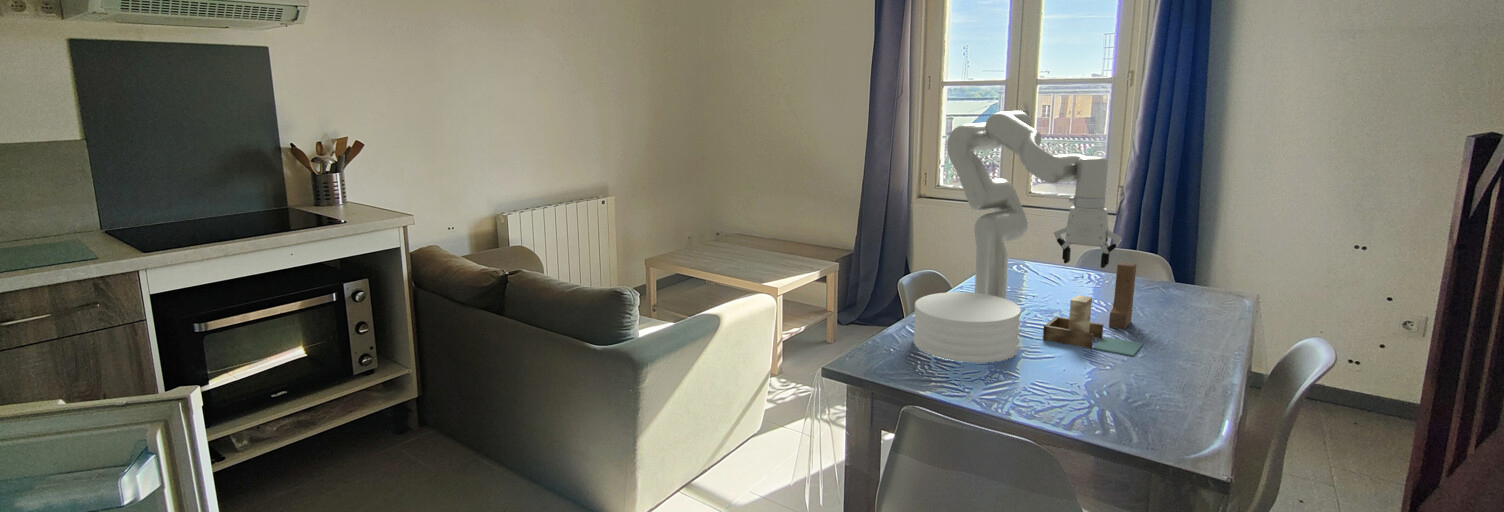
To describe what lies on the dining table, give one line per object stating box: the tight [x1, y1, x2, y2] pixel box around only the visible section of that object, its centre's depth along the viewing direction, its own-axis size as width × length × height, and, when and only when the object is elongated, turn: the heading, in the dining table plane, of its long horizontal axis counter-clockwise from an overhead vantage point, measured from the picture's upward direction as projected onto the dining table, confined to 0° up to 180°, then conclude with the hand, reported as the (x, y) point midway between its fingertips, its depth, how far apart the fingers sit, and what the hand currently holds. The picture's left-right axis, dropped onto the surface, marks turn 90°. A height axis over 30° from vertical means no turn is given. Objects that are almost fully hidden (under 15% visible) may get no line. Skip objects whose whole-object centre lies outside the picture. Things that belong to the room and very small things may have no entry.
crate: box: [1042, 315, 1104, 350], centre depth 219 cm, size 13×11×4 cm
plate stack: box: [913, 291, 1022, 364], centre depth 215 cm, size 28×28×12 cm
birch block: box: [1068, 294, 1093, 333], centre depth 217 cm, size 4×6×12 cm, turn 142°
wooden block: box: [1108, 261, 1137, 330], centre depth 229 cm, size 9×4×18 cm, turn 144°
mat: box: [1092, 336, 1144, 357], centre depth 212 cm, size 10×11×1 cm
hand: (1084, 264), depth 214 cm, fingers open, 9 cm apart
